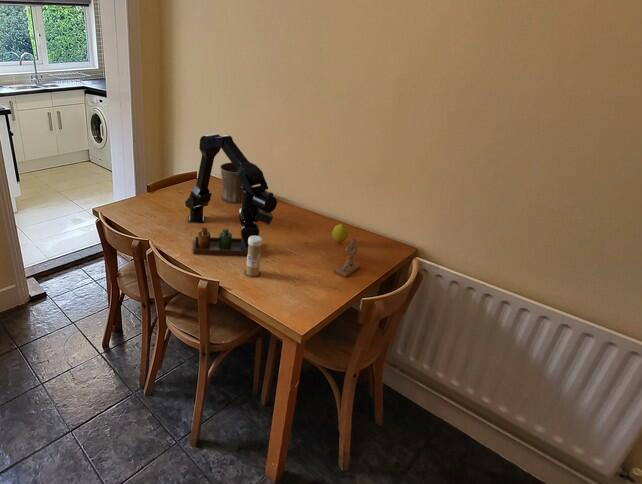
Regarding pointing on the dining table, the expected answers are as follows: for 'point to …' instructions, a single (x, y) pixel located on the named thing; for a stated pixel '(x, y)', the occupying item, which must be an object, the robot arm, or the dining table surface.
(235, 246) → the tray
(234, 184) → the plant pot
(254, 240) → the sprinkles bottle
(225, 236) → the green bottle
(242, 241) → the blue bottle
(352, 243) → the grey statuette
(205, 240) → the amber bottle
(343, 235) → the lemon
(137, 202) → the dining table surface
